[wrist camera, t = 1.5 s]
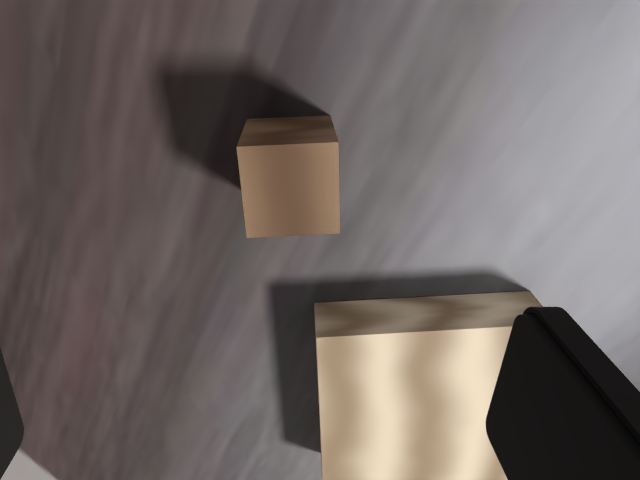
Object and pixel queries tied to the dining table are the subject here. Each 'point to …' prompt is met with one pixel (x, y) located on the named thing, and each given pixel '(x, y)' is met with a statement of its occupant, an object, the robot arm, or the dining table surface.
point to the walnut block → (289, 176)
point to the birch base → (411, 384)
